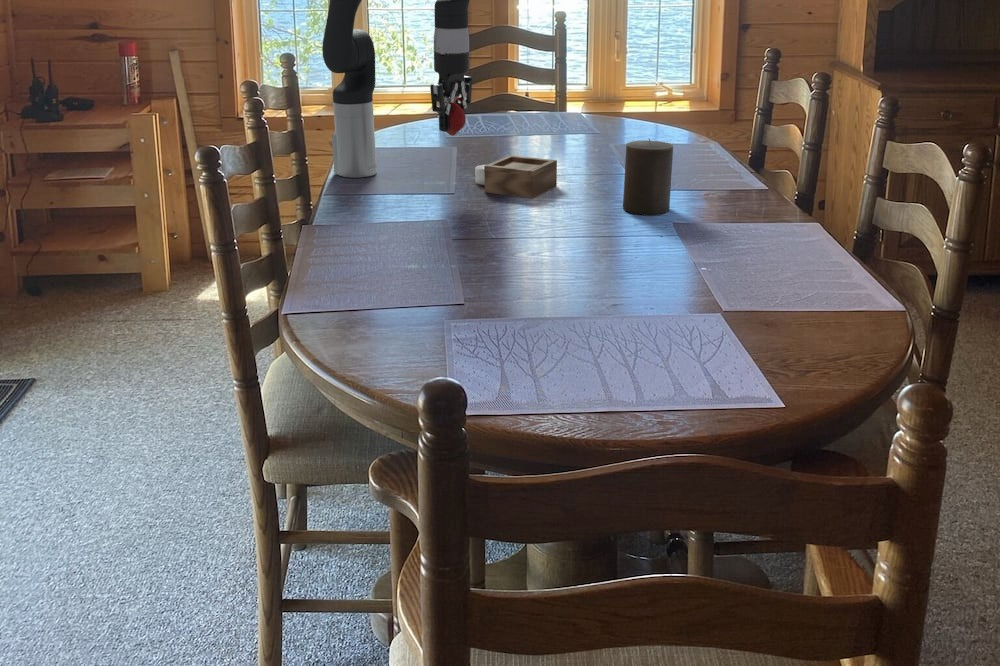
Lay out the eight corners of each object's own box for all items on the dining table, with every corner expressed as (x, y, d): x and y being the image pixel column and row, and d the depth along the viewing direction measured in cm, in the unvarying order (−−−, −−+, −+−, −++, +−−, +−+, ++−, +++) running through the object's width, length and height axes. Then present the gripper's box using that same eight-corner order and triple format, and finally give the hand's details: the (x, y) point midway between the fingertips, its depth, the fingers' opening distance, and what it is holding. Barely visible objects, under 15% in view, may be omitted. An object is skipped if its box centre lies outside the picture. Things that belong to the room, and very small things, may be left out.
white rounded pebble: (470, 183, 244) (470, 168, 243) (483, 178, 249) (483, 163, 248) (493, 186, 242) (493, 171, 240) (506, 181, 247) (505, 166, 245)
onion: (462, 139, 229) (462, 101, 226) (436, 137, 230) (435, 100, 227) (468, 133, 234) (468, 97, 231) (442, 132, 235) (442, 95, 232)
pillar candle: (640, 218, 216) (644, 144, 210) (613, 206, 224) (617, 135, 218) (679, 212, 220) (684, 140, 214) (651, 201, 228) (655, 132, 222)
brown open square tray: (484, 192, 236) (484, 165, 234) (509, 180, 246) (509, 155, 244) (532, 198, 231) (533, 171, 229) (556, 186, 241) (556, 160, 239)
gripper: (453, 44, 232) (454, 121, 239) (418, 52, 221) (419, 132, 227) (483, 46, 229) (483, 124, 236) (449, 54, 217) (450, 136, 224)
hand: (452, 128), depth 231 cm, fingers closed on onion, 6 cm apart
